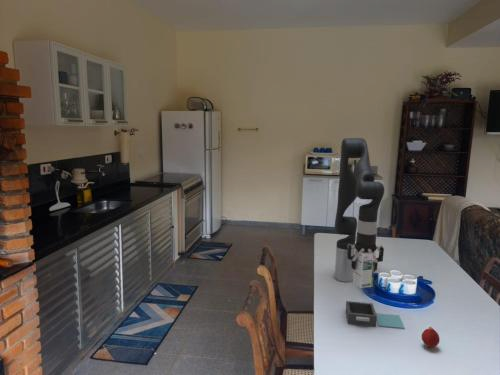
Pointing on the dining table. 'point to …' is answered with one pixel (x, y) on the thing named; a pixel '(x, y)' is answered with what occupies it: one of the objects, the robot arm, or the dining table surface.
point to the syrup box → (364, 270)
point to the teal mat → (389, 321)
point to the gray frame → (361, 318)
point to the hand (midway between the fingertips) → (363, 269)
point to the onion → (430, 337)
